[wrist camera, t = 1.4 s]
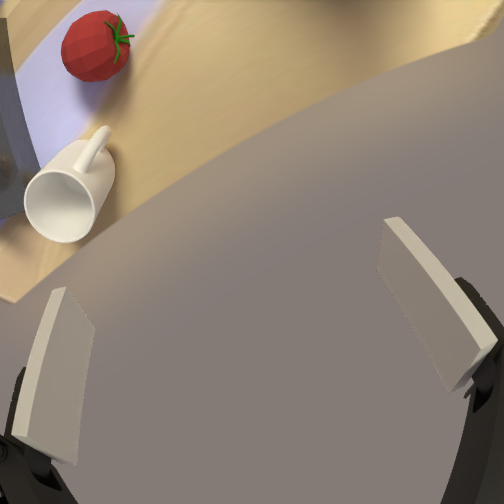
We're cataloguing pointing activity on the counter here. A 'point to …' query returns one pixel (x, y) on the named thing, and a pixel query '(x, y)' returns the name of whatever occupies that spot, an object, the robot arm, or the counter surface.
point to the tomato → (96, 46)
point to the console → (13, 137)
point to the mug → (71, 189)
